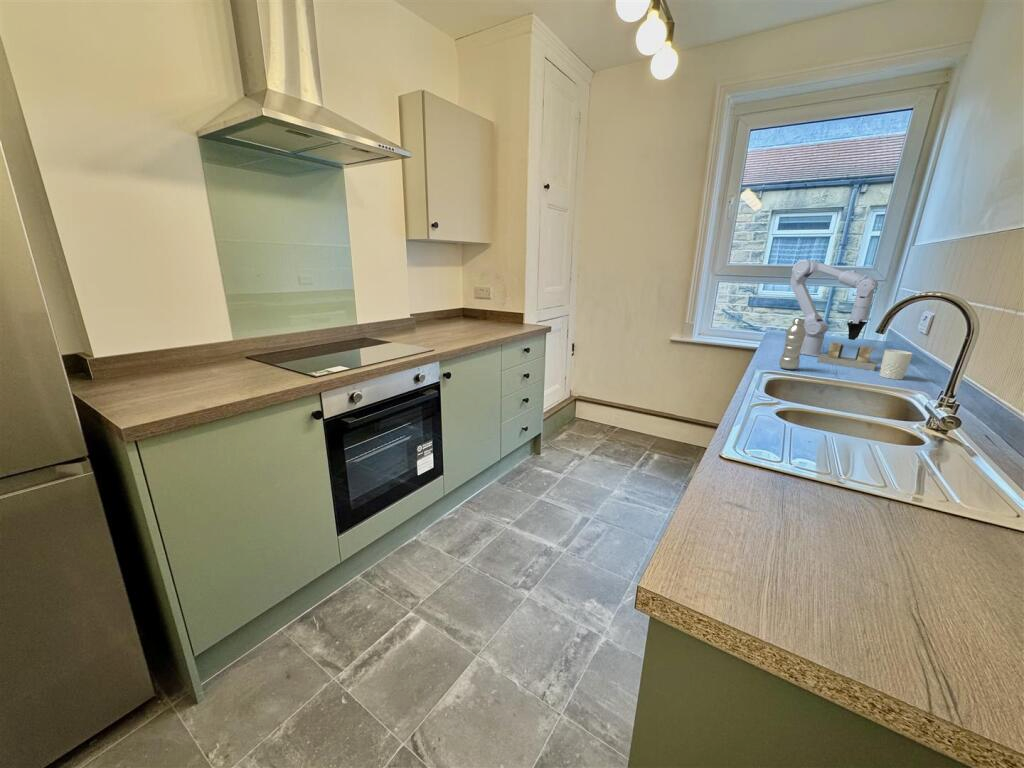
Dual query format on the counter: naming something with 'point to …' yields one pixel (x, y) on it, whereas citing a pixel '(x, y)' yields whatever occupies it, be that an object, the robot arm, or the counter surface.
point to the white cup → (895, 363)
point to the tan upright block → (863, 354)
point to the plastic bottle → (793, 344)
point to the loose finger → (835, 350)
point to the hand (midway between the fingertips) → (852, 338)
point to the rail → (847, 362)
